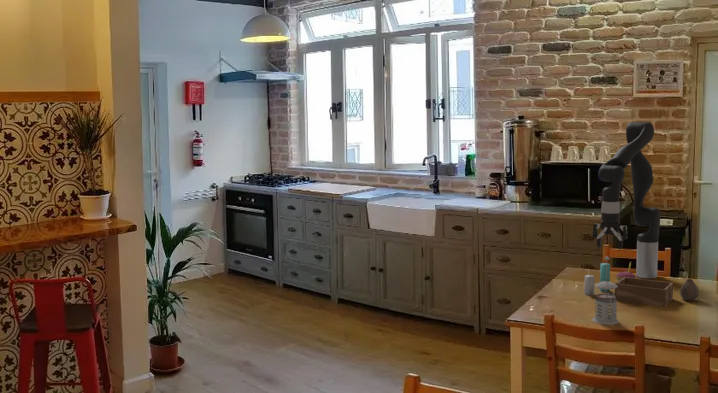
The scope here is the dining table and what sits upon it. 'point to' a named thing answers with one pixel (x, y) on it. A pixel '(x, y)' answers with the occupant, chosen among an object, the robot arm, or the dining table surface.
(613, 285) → the french press
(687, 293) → the vase
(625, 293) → the peg box
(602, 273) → the teal peg
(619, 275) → the cupcake
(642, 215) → the robot arm
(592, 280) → the grey peg
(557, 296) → the dining table surface
